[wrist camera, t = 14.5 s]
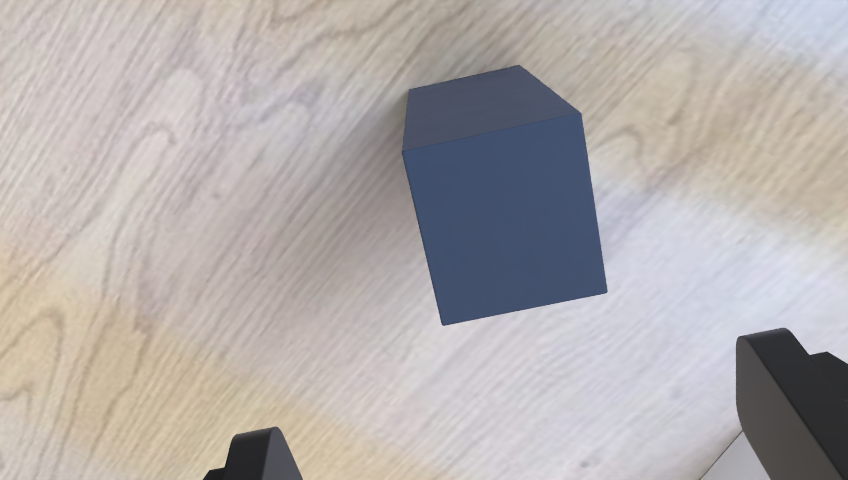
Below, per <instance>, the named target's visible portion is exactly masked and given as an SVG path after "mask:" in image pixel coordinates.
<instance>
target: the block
mask: <svg viewBox="0 0 848 480" xmlns="http://www.w3.org/2000/svg"><path fill="white" fill-rule="evenodd" d="M701 480H770V478H769V476H768V474H767V473H766V471H765V469H764V467H763V466H762V464H761V462H760V461H759V459H758V457H757V455H756V454H755V452H754V450H753V449H752V447H751V445H750V443H749V442H748V440H747V438H746V436H745V434H744V431H742V432H741V434H740V435H739V436H738V437H737V438H736V439H735V441H734V442H733V443H732V444H731V445H730V446H729V447H728V449H727V450H726V451H725V452H724V453H723V454H722V456H721V457H720V458H719V459H718V460H717V461H716V462H715V464H714V465H713V466H712V467H711V468H710V469H709V471H708V472H707V473H706V474H705V475H704V476H703V477H702V479H701Z"/></svg>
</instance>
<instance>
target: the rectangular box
mask: <svg viewBox="0 0 848 480" xmlns="http://www.w3.org/2000/svg"><path fill="white" fill-rule="evenodd" d="M402 155H403V160H404V164H405V168H406V172H407V177H408V181H409V185H410V190H411V194H412V198H413V203H414V207H415V211H416V215H417V220H418V224H419V228H420V233H421V237H422V241H423V246H424V250H425V254H426V258H427V263H428V267H429V271H430V276H431V280H432V284H433V289H434V293H435V297H436V301H437V306H438V310H439V314H440V319H441V323H442V325H443V326H445V325H450V324H455V323H460V322H465V321H470V320H475V319H480V318H485V317H490V316H495V315H500V314H505V313H510V312H515V311H520V310H525V309H530V308H535V307H540V306H545V305H550V304H555V303H560V302H565V301H570V300H575V299H580V298H585V297H590V296H595V295H600V294H605V293H607V285H606V278H605V271H604V264H603V258H602V251H601V244H600V237H599V230H598V223H597V217H596V210H595V203H594V196H593V189H592V183H591V176H590V169H589V162H588V155H587V149H586V142H585V135H584V128H583V121H582V115H581V113H580V112H579V111H578V110H577V109H575V108H574V107H573V106H571V105H570V104H569V103H568V102H566V101H565V100H564V99H562V98H561V97H560V96H559V95H557V94H556V93H555V92H554V91H552V90H551V89H550V88H548V87H547V86H546V85H545V84H543V83H542V82H541V81H539V80H538V79H537V78H536V77H534V76H533V75H532V74H530V73H529V72H528V71H527V70H525V69H524V68H523V67H522V66H520V65H518V66H513V67H509V68H504V69H500V70H495V71H491V72H486V73H482V74H477V75H473V76H468V77H464V78H459V79H455V80H450V81H446V82H441V83H437V84H432V85H428V86H423V87H419V88H414V89H410V90H409V92H408V101H407V110H406V120H405V129H404V138H403V147H402Z"/></svg>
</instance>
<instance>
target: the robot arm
mask: <svg viewBox="0 0 848 480" xmlns="http://www.w3.org/2000/svg"><path fill="white" fill-rule="evenodd" d="M736 405H737V412H738V416H739V420H740V423H741V426H742V429H743V431H744V434H745V436H746V438H747V440H748V442H749V443H750V445H751V447H752V449H753V450H754V452H755V454H756V455H757V457H758V459H759V461H760V462H761V464H762V466H763V467H764V469H765V471H766V473H767V474H768V476H769V478H770V480H848V364H847V363H845V362H844V361H842V360H840V359H839V358H837V357H835V356H834V355H832V354H830V353H829V352H823V353H818V354H813V355H809V354H808V353H807V352H806V350H805V349H804V348H803V347H802V345H801V344H800V343H799V341H798V340H797V339H796V338H795V336H794V335H793V334H792V333H791V332H790V331H789V330H788V329H786V328H779V329H774V330H769V331H764V332H759V333H754V334H749V335H744V336H740V337H738V339H737V342H736ZM203 480H303V478H302V476H301V474H300V472H299V469H298V467H297V465H296V463H295V460H294V458H293V456H292V454H291V451H290V449H289V447H288V445H287V442H286V440H285V438H284V436H283V434H282V432H281V430H280V429H279V428H278V427H271V428H266V429H261V430H256V431H251V432H246V433H241V434H236V435H235V436H234V437H233V439H232V441H231V444H230V448H229V452H228V456H227V460H226V464H225V467H224V468H219V469H214V470H209V472H208V473H207V474H206V476H205V477H204V479H203Z"/></svg>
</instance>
